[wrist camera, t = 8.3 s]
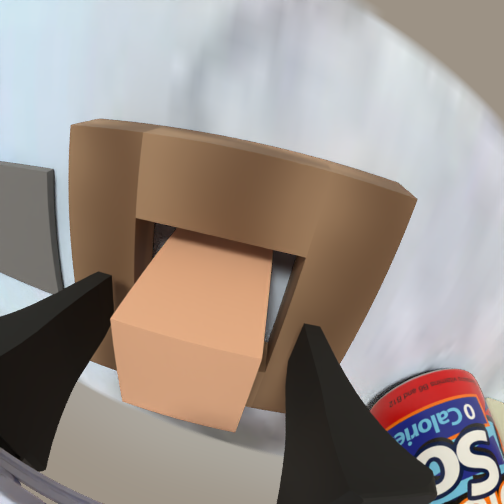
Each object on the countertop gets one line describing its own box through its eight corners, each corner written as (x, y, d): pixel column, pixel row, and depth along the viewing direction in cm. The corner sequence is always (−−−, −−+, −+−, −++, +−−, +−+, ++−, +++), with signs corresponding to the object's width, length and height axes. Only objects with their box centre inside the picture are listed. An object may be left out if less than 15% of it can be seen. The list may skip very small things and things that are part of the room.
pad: (-11, 261, 15) (-16, 265, 15) (-25, 158, 12) (-31, 160, 11) (63, 291, 15) (59, 296, 15) (53, 169, 12) (46, 172, 11)
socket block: (103, 336, 16) (87, 362, 14) (99, 118, 11) (67, 125, 9) (306, 388, 16) (307, 419, 15) (398, 182, 11) (419, 201, 9)
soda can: (410, 436, 19) (430, 603, 6) (338, 416, 18) (339, 633, 4) (489, 376, 15) (546, 560, 2) (430, 340, 14) (495, 610, 1)
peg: (170, 302, 15) (122, 401, 9) (177, 226, 13) (110, 318, 7) (253, 322, 15) (235, 432, 9) (273, 248, 13) (262, 359, 7)
